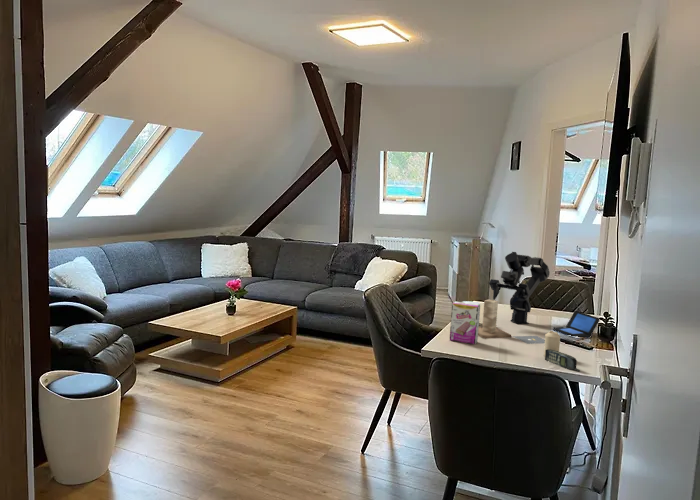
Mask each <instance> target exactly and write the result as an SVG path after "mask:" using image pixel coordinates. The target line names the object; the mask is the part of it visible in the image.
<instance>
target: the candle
mask: <svg viewBox="0 0 700 500" xmlns="http://www.w3.org/2000/svg"><path fill="white" fill-rule="evenodd" d="M544 340H545V343H544V344H543V345H544V346H543V347H544V348H543V357H545V351H546V350H547V349H551V350H555V351H559V352H560V343H561V335H560V334H559V332H557V331H554V330H550V331H548V332H547V333H545V334H544Z"/></svg>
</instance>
